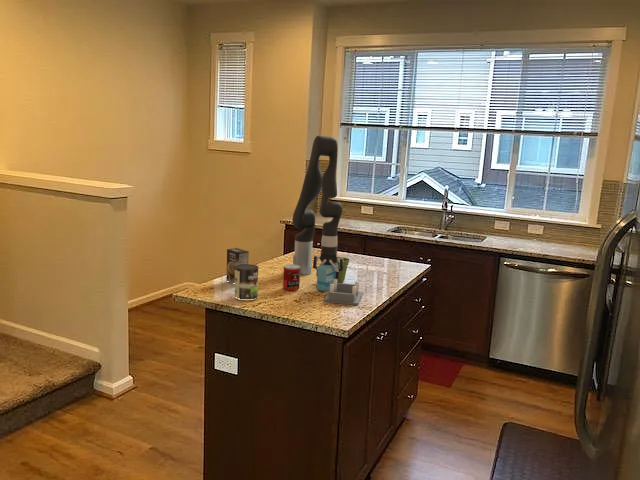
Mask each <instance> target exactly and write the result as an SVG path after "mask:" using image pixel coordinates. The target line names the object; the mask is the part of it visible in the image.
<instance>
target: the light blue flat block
mask: <svg viewBox="0 0 640 480" xmlns="http://www.w3.org/2000/svg"><path fill="white" fill-rule="evenodd" d="M336 264H337V263H336ZM317 266H318V270H316V273H317V276H316V291H320V292H324V293H327V292H329V291H330V284H333V283H334V279H335V277H336V270H335V269H334V267H333V266H332V265H320V264H319V265H317ZM337 266H338V264H337ZM337 280H338V279H337Z"/></svg>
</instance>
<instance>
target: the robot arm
mask: <svg viewBox="0 0 640 480" xmlns="http://www.w3.org/2000/svg"><path fill="white" fill-rule="evenodd" d="M338 145H339V144H338V140H337V139H336V137H334V136H326V135H317V136H315V138H314V140H313V143H312V145H311V146H312V148H311V152H310V158H309V162H308V166H307V170H306V173H305V177H304V180H303V184H302V187H301V191H300V195H299V198H298V201H297V204H296V206H295V208H294V212H293V214H292V221H291V223H292V225H293V227H295V228H296V229H303V230H302V231H300V232H299V233H297V234H295V236H294V254H293V258H292V264H294V265H299V266H300V276H301V275H302V276H304V275H311V274H312V268H313V269H314V270H316V271H317V270H318V266H319V265H332V266H333V267H334V269H335V270H336V277H335V279H338V278H339V272H340V271H343V258H337V257H338V243H339V242H338V231H339V230H338V228H339V223H340V221H341V217H342V214H343V212H344V211H343V205H342V203H341V202H337V201H336V202H334V201H331V202H329V200H331V199H335V198H336V197H337V196H338V186H337V185H338V184H337V170H338V169H337V167H338V153H339V152H338V151H339V146H338ZM321 156H322V157H328V158H329V162H328V166H327V167H326V169H325V171H324V173H323V174H322V170H321V169H320V163H319V162H320V157H321ZM320 193H321V195H322V196H321V201H320V206H319V214H320V217H323V218H332V219H331V220H329V221H326V222H323V224H322V236H321V241H320V242H321V243H320V246H321V247H320V255H317V254H316V255H314V256H313V245H314V244H313V242H314V236H315V225H316V214H315V212H314V210H312V209H308V206H309V205H310V204H311V203H312V202H313V201H314V200H315V199H317V197H318V195H320ZM319 260H320V262H321V263H320V264H319V265H317V264H318V263H317V262H318V261H319ZM337 260H338V261H339V263H340V268H338V266H337V264H336V261H337ZM312 261H313V262H312ZM315 276H316V277H317V272H316V274H315Z"/></svg>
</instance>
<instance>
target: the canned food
mask: <svg viewBox="0 0 640 480" xmlns="http://www.w3.org/2000/svg"><path fill="white" fill-rule="evenodd" d="M282 275H283V277H282V278H283V281H282V289H283V290H284V289H285V290H284V291H287V290H288V292H296V291H295V290H297V291H298V289H299V290H300V279H301V278H300V277H301V274H300V266H299V265H294V264H293V263H291V264H290V263H289V264H284V266H283V274H282Z"/></svg>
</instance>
